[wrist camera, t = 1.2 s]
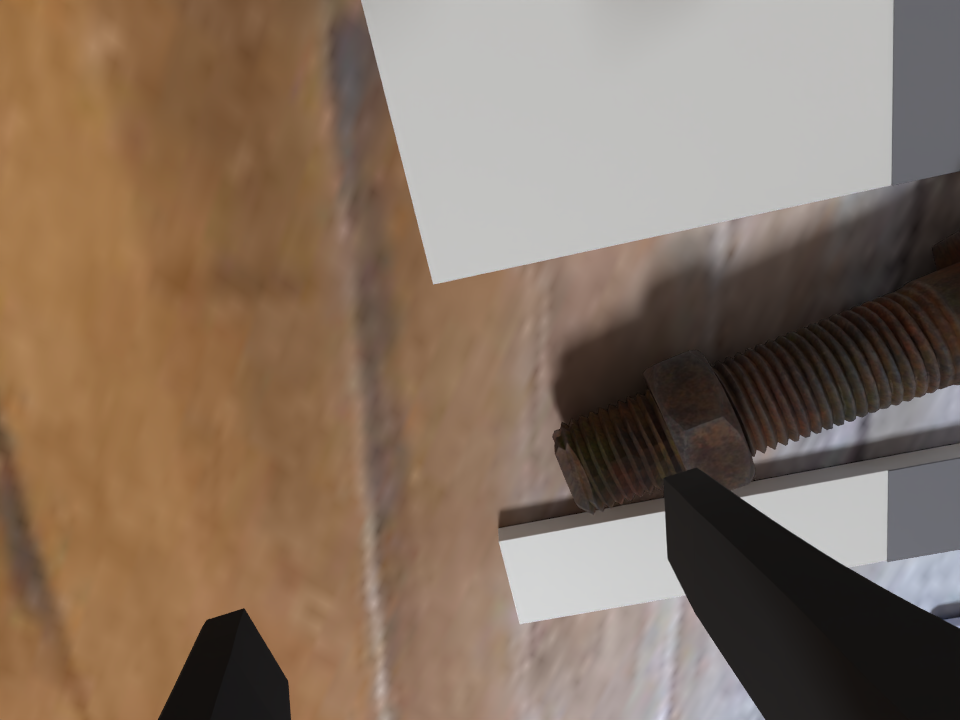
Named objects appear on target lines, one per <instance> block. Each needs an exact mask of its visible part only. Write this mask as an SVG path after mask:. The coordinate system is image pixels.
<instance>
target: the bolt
mask: <svg viewBox="0 0 960 720" xmlns="http://www.w3.org/2000/svg"><path fill="white" fill-rule="evenodd" d="M932 249H933V254H934V259H935V264H936V268H937V271H936V272H933V273H931V274H928V275H926V276H923V277H920V278H918V279H915V280H913V281H910V282H908V283H907V284H905V285H904V286H903V287H902V288H900V289H898V290H897V291H896V292H893V293H889V294H886V295H884V296H883V297H878V298H875V299H874V300H873V301H872V302H871V301H868V302H865V303H863V304H862V305H861V306H855V307H853V308H852V309H851V310H847V311H843V312H841V313H840V315H832V316H831V317H830V318H829V320H828V319H822V320H821V321H820V322H819V323H818V324H816V323H813V324H810V325H809V326H808V327H807V329H806V328H799V329H798V330H797V332H796V333H795V332H790V333H787V335H786V338H785V337H784V336H779V337H778V338H777V339H776V340H775V342H774V341H771V340H768V341H767V343H766V344H765V346H763V345H757V346H756V347H755V351H754V350H752V349H747V350H746V351H745V353H744V355H742V354H740V353H736V355H735V358H734V360H733V359H731V358H729V357H726V359H725V362H724V364H723V363H721V362H719V361H716V362H715V366H714V368H713V367H711V366H710V364H709V362H708V361H707V360H706V358H705V357H704V356H703V354H702V353H701V352H699V351H696V350H691V351H687V352H685V353H682V354H680V355H677V356H675V357H672V358H670V359H668V360H665V361H663V362H660V363H658V364H655V365H653V366H651V367H650V368H648V369H646V370H645V371H644V373H643V376H644V379H645V382H646V384H647V387H648V389H649V390H648V389H647V390H646V394H645V396H644V395H641V394H639V393H637V396H636V400H635V399H633V398H631V397H627V401H626V403H624V402H622V401H620V400H618V404H617V407H616V406H613V405H611V404H609V406H608V410H604V409H602V408H599V412H598V414H595V413H593V412H590V413H589V417H588V418H586V417H583V416H581V415H580V418H579V421H578V422H577V421H575V420H574V419H572V418H571V421H570V424H569V426H568V425H567V424H565V423H563V422H562V423H561V427H560V429H559V430H555V431H554V434H553V436H552V437H553V440H554V442H555V445H554V446H555V455H556V457H557V460H558V462H559V465H560V467H561V470H562V472H563V475H564V477H565V479H566V482H567V484H568V487H569V489H570V491H571V494H572V496H573V498H574V501H575V503H576V504H577V506H578V507H579V508H581V509H583V510H585V511H587V512H589V513H591V514H593V515H594V513H595V510H596V508H597V509H599V510H600V511H602V512H603V511H604V508H605V505H607V506H608V507H609V508H612V507H613V505H614V503H615V501H616V502H618V503H619V504H621V505H622V503H623V501H624V499H625V498H626V499H628V500H629V501H632V499H633V497H634V495H635V494H636V495H637V496H639V497H640V498H641V497H642V495H643V493H644V491H647V492H648V493H650V494H652V492H653V489H654V487H656V488H658V489H659V490H662V487H663V485H664V483H663V478H664V477H668V476H671V475H674V474H677V473H681V472H684V471H687V470H690V469H693V468H698V469H700V470H702V471H703V472H705V473H706V474H708V475H709V476H710V477H712V478H713V479H715V480H716V481H717V482H719V483H720V484H722V485H723V486H724V487H726V488H727V489H729V490H730V491H731V490H734V489H737V488H739V487H742V486H745V485H748V484H749V483H750V482H751V481H752V480H753V478H754V476H755V467H754V463H753V459H752V457H755V454H756V450H759V451H761V452H762V453H765V451H766V448H767V446H769V447H771V448H773V449H776V446H777V443H778V442H779V443H781V444H783V445H785V446H786V445H787V444H788V439H791V440H793V441H799V436H800V435H802V436H803V437H805V438H806V437H810V433H811V431H813V432H814V433H816V434H817V433H821V430H822V427H823V428H825V429H826V430H828V429H832V428H833V423H834V424H836V425H837V426H839V425H843V424H844V419H845V420H846V421H848V422H851V421H854V420H855V419H856V416H859V417H864V416H865V415H867V414H868V412H869V413H874V412H876V411H878V410H879V409H886V408H888V407H889V406H890V405H891V404H892V405H899V404H900V403H901V402H902V401H911V400H912V399H913V398H914V397H922V396H924V395H925V394H926V393H933V392H935V391H936V390H937V389H943V388H945V387H948V386H951V385H960V231H958V232H956V233H954V234H953V235H951V236H949V237H948V238H946V239H944V240H943V241H941V242H939V243H938V244H936V245H934V246H933V247H932Z"/></svg>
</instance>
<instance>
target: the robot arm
mask: <svg viewBox="0 0 960 720" xmlns="http://www.w3.org/2000/svg"><path fill="white" fill-rule="evenodd" d="M663 483H664V502H665V522H666V541H667V559H668V561H669V563H670V565H671V567H672V569H673V571H674V573H675V575H676V577H677V579H678V581H679V583H680V585H681V587H682V589H683V591H684V593H685V595H686V596H687V598H688V600H689V602H690V604H691V606H692V608H693V610H694V612H695V614H696V615H697V617H698V618H699V620H700V621H701V623H702V624H703V626H704V627H705V629H706V631H707V632H708V634H709V635H710V637H711V638H712V640H713V641H714V643H715V644H716V646H717V647H718V649H719V650H720V652H721V653H722V655H723V656H724V658H725V659H726V661H727V663H728V664H729V666H730V667H731V669H732V670H733V672H734V673H735V675H736V676H737V678H738V679H739V681H740V682H741V684H742V685H743V687H744V688H745V690H746V691H747V693H748V694H749V696H750V697H751V699H752V700H753V702H754V703H755V705H756V706H757V708H758V709H759V711H760V712H761V714H762V715H763V717H764V718H765V720H960V617H958V618H952V619H946V620H943V619H941V618H939V617H937V616H935V615H933V614H931V613H929V612H927V611H925V610H923V609H921V608H919V607H917V606H915V605H913V604H911V603H910V602H908V601H906V600H904V599H902V598H900V597H898V596H897V595H895V594H893V593H891V592H889V591H888V590H886V589H884V588H882V587H880V586H879V585H877V584H875V583H873V582H872V581H870V580H868V579H867V578H865V577H863V576H861V575H860V574H858V573H856V572H855V571H853V570H851V569H849V568H848V567H846V566H844V565H843V564H841V563H839V562H838V561H836V560H834V559H833V558H831V557H830V556H828V555H826V554H825V553H823V552H822V551H820V550H818V549H817V548H815V547H814V546H812V545H811V544H809V543H807V542H806V541H804V540H803V539H801V538H800V537H798V536H796V535H795V534H793V533H792V532H790V531H789V530H787V529H786V528H784V527H783V526H781V525H780V524H778V523H777V522H775V521H774V520H772V519H771V518H769V517H768V516H766V515H765V514H763V513H762V512H760V511H759V510H757V509H756V508H755V507H753V506H752V505H750V504H749V503H747V502H746V501H744V500H743V499H742V498H740V497H739V496H737V495H736V494H734V493H733V492H732V491H730V490H729V489H727V488H726V487H724V486H723V485H722V484H720V483H719V482H717V481H716V480H715V479H713V478H712V477H710V476H709V475H708V474H706V473H705V472H703V471H702V470H700V469H698V468H693V469H690V470H687V471H684V472H681V473H677V474H674V475H671V476H668V477H664V478H663ZM158 720H291V714H290V700H289V686H288V680H287V678H286V677H285V675H284V673H283V672H282V670H281V668H280V667H279V665H278V663H277V662H276V660H275V658H274V657H273V655H272V653H271V652H270V650H269V649H268V647H267V645H266V644H265V642H264V640H263V639H262V637H261V635H260V634H259V632H258V630H257V629H256V627H255V625H254V624H253V622H252V620H251V619H250V617H249V615H248V614H247V612H246V610H245V609H240V610H237V611H234V612H231V613H228V614H224V615H221V616H218V617H215V618H212V619H208V620H206V622H205V624H204V625H203V627H202V629H201V631H200V633H199V635H198V637H197V639H196V641H195V643H194V646H193V648H192V650H191V652H190V654H189V656H188V658H187V660H186V662H185V665H184V667H183V669H182V671H181V673H180V675H179V677H178V679H177V681H176V684H175V686H174V688H173V690H172V692H171V694H170V696H169V698H168V700H167V702H166V704H165V706H164V708H163V710H162V712H161V714H160V716H159V718H158Z"/></svg>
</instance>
